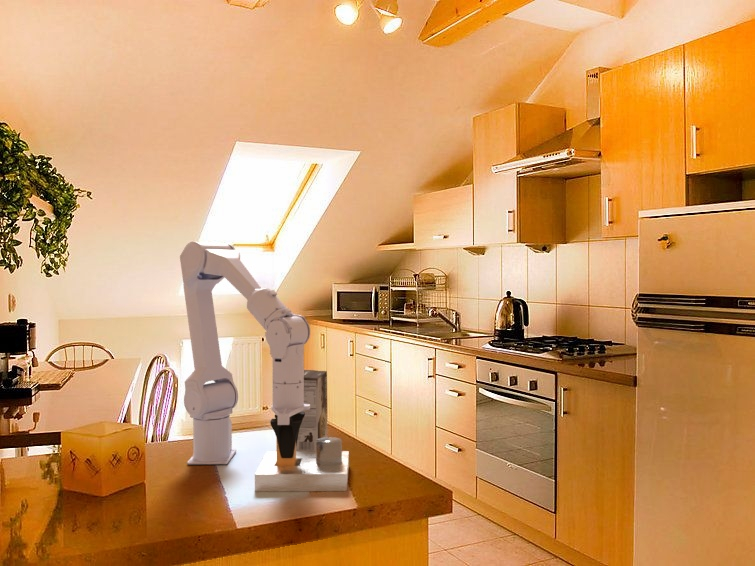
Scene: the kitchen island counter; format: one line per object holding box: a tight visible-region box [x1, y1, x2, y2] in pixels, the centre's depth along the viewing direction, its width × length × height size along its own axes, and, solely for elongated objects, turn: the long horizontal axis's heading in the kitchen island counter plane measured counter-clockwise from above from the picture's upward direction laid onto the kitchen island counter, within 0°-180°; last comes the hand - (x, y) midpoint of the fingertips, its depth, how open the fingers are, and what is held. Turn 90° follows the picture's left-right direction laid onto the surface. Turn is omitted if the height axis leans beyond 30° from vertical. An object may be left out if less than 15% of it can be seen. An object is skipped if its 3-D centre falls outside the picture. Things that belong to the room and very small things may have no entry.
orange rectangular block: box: [275, 436, 296, 466], centre depth 119 cm, size 3×3×7 cm
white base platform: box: [254, 436, 350, 492], centre depth 120 cm, size 14×16×7 cm
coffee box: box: [296, 369, 328, 451], centre depth 140 cm, size 9×6×16 cm
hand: (288, 454), depth 119 cm, fingers closed on orange rectangular block, 3 cm apart
